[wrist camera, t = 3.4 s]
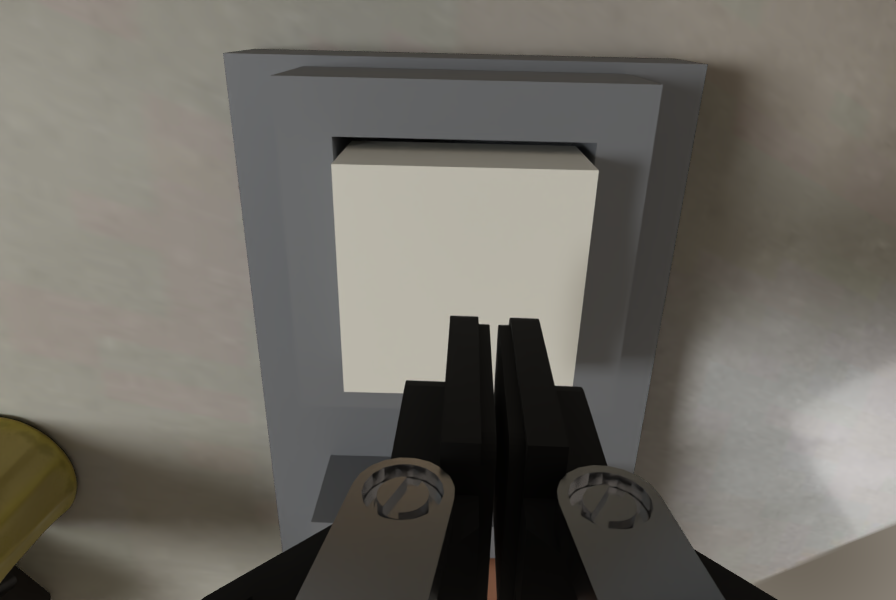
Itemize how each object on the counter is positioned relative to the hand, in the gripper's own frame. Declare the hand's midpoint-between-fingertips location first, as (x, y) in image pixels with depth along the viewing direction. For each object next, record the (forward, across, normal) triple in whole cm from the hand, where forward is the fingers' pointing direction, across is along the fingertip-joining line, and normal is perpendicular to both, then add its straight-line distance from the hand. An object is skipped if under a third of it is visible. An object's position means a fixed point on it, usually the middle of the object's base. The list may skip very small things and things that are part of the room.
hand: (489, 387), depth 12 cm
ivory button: (+7, +1, 0) cm, 7 cm away
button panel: (+12, +1, +6) cm, 14 cm away
